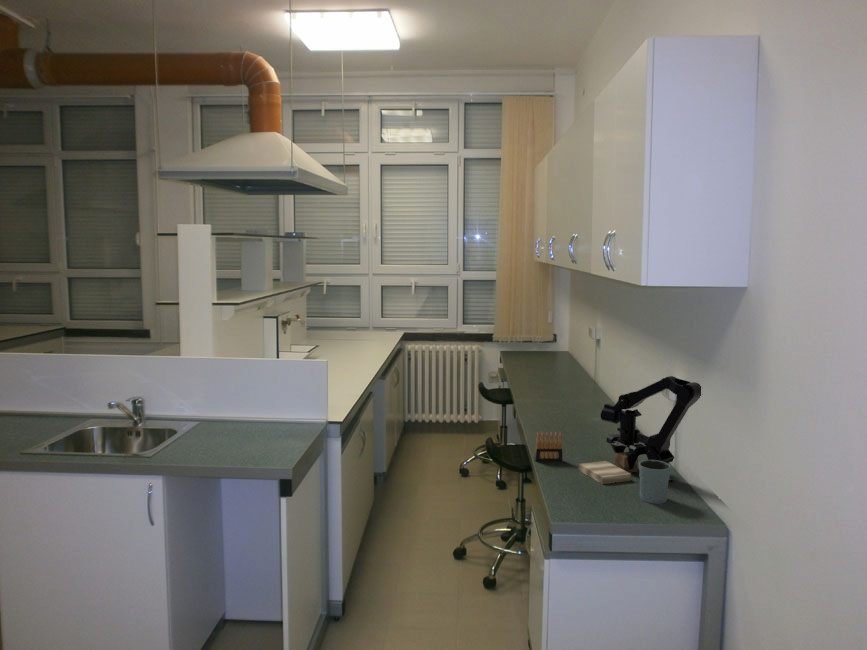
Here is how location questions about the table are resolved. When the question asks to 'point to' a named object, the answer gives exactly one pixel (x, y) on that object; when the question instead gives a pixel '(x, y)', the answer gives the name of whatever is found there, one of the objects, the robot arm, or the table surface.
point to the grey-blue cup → (654, 481)
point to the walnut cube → (624, 462)
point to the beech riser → (604, 472)
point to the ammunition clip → (548, 448)
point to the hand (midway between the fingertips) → (626, 466)
